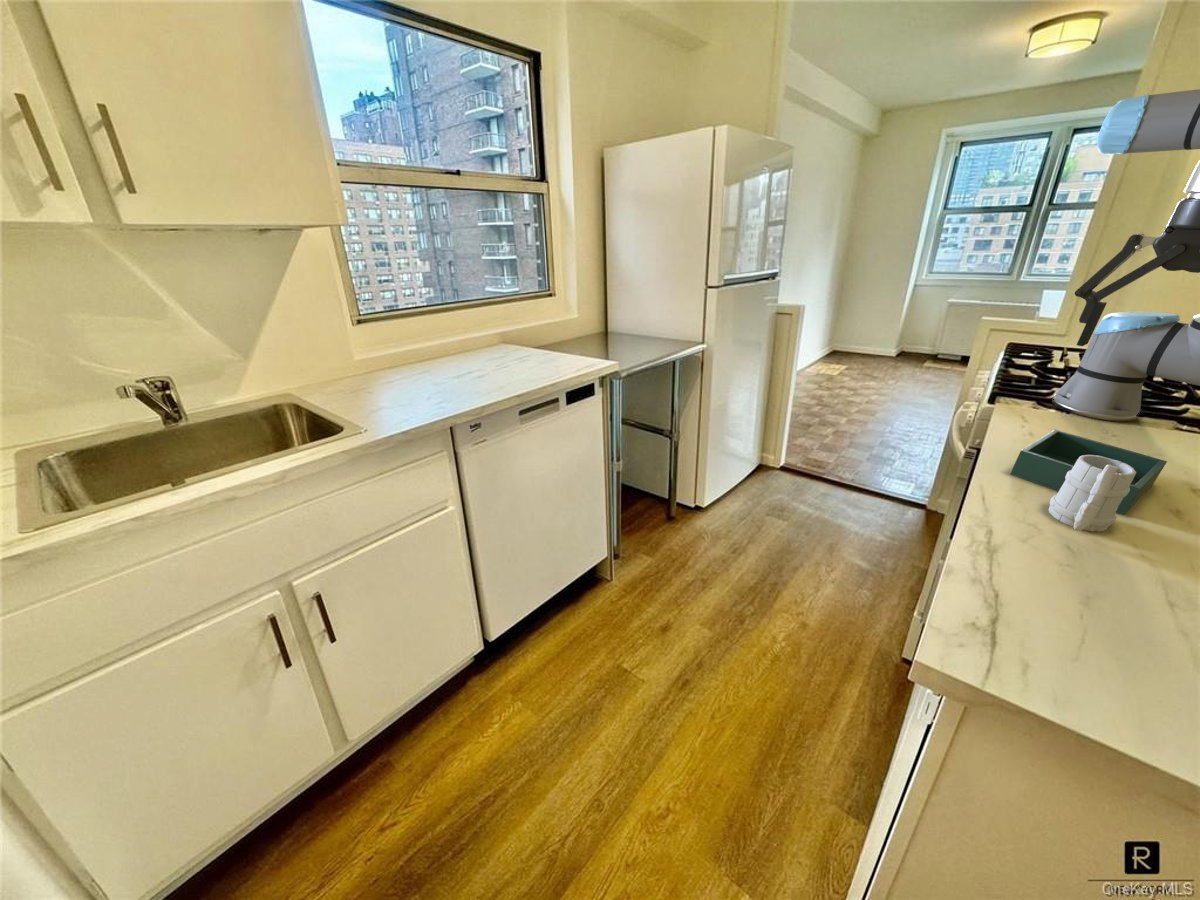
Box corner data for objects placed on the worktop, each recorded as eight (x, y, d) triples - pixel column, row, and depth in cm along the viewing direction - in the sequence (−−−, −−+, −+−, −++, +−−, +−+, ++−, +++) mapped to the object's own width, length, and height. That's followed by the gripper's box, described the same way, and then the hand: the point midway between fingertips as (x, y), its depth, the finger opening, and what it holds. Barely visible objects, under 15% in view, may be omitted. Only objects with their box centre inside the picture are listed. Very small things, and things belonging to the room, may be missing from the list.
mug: (1110, 518, 77) (1150, 451, 71) (1108, 552, 69) (1152, 480, 64) (1048, 499, 81) (1081, 435, 76) (1040, 529, 74) (1075, 461, 68)
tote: (1044, 451, 97) (1054, 429, 95) (1152, 485, 86) (1167, 461, 83) (1009, 474, 89) (1020, 450, 87) (1124, 515, 78) (1140, 488, 75)
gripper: (1089, 197, 70) (1030, 340, 80) (1390, 195, 52) (1266, 382, 62) (1105, 196, 74) (1047, 333, 84) (1392, 195, 56) (1274, 371, 66)
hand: (1140, 354), depth 73 cm, fingers open, 13 cm apart
